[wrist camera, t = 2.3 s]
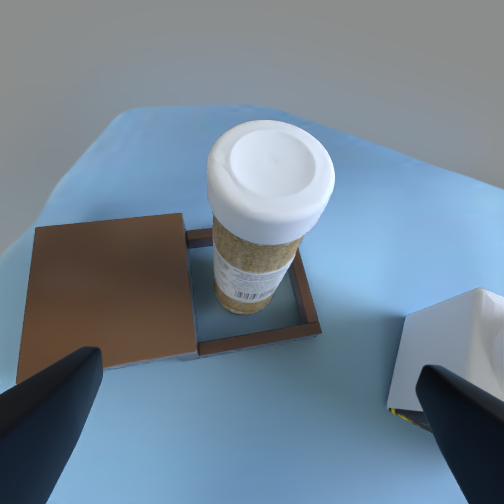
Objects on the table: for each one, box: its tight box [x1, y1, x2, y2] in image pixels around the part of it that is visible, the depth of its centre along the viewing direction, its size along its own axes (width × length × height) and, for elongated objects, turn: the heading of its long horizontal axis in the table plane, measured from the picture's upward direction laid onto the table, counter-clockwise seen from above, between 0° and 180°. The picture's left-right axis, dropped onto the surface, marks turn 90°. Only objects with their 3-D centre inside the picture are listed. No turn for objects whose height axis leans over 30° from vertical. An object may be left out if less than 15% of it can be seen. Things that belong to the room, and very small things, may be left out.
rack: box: [16, 213, 322, 384], centre depth 20 cm, size 9×17×4 cm, turn 101°
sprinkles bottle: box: [207, 120, 335, 315], centre depth 16 cm, size 5×5×13 cm
